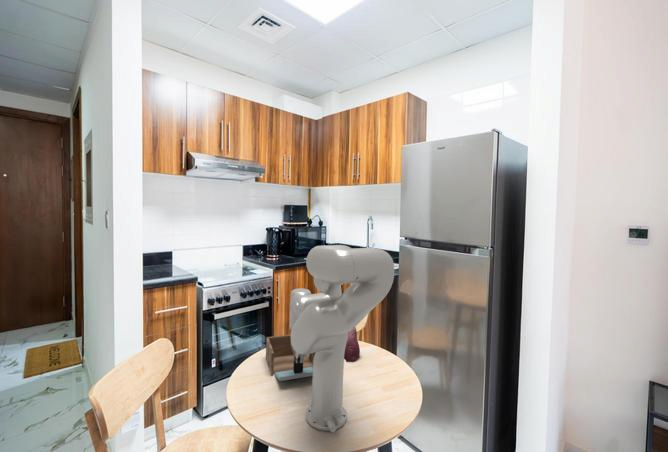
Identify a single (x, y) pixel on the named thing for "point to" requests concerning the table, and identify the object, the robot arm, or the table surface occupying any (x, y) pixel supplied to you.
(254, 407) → the table surface
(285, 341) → the box
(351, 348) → the vegetable
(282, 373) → the light blue panel
